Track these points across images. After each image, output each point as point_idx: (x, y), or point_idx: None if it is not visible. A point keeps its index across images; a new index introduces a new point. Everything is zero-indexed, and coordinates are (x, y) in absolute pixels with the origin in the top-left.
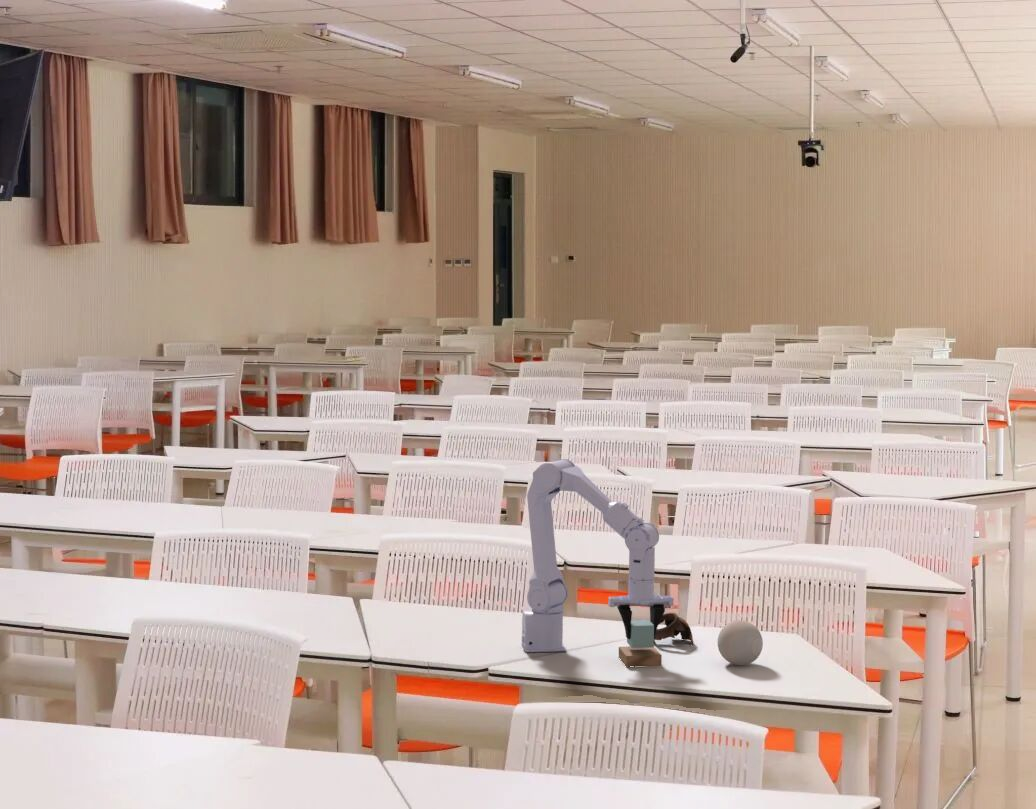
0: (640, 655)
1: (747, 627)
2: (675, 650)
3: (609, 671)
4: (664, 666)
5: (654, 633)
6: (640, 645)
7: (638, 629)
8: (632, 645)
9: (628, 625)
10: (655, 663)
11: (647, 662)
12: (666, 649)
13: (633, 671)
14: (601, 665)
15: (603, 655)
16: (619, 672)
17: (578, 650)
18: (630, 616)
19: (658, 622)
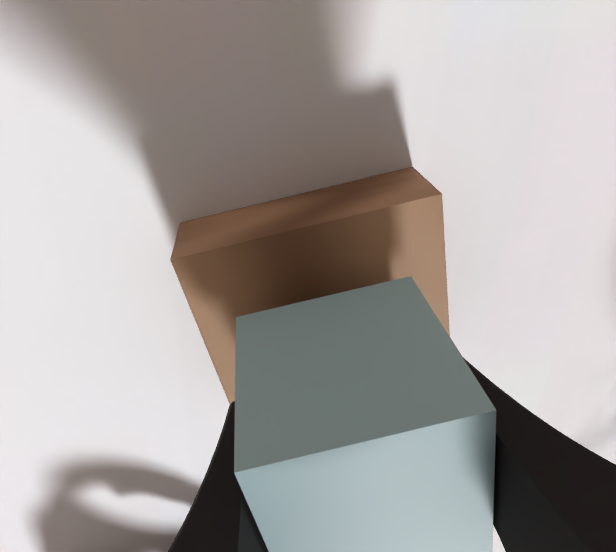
0: (334, 222)
1: None
2: (138, 503)
3: (544, 44)
4: (159, 227)
5: (231, 428)
6: (344, 300)
7: (405, 396)
8: (410, 287)
9: (522, 428)
10: (219, 222)
11: (275, 211)
12: (184, 506)
13: (374, 66)
14: (556, 191)
15: (495, 374)
16: (480, 22)
17: (587, 421)
18: (581, 520)
19: (182, 533)
